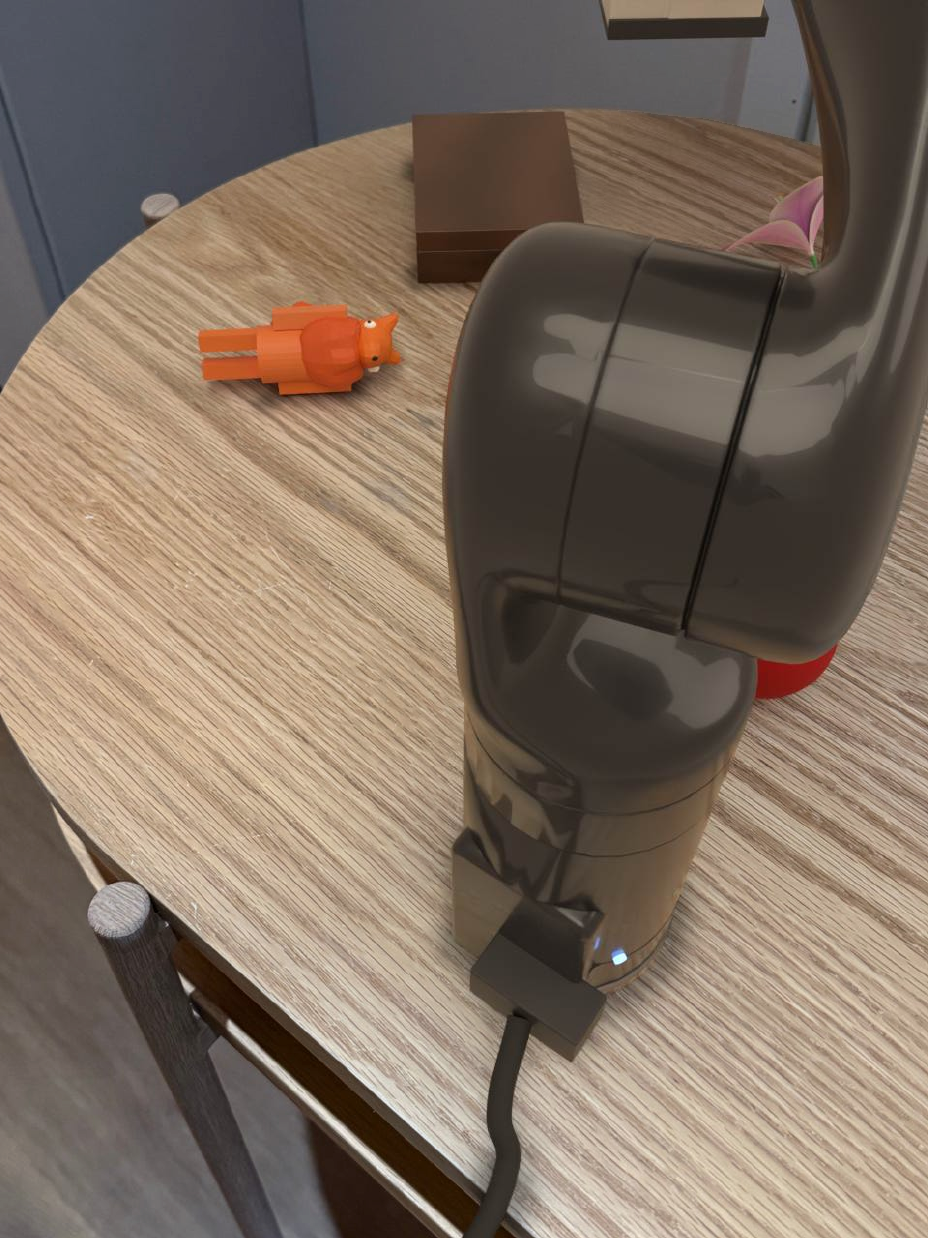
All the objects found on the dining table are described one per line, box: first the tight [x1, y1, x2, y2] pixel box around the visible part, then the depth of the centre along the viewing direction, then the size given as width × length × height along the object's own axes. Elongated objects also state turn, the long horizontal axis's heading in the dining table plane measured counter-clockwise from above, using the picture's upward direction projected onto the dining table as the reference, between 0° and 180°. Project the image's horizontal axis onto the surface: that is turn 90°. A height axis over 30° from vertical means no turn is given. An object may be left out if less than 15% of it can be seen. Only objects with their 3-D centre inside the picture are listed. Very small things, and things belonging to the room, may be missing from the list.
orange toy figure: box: [197, 300, 402, 395], centre depth 70 cm, size 5×8×12 cm
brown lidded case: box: [411, 110, 585, 284], centre depth 80 cm, size 11×14×4 cm
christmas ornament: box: [754, 642, 839, 700], centre depth 55 cm, size 7×7×10 cm
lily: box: [717, 175, 823, 268], centre depth 75 cm, size 12×12×10 cm
